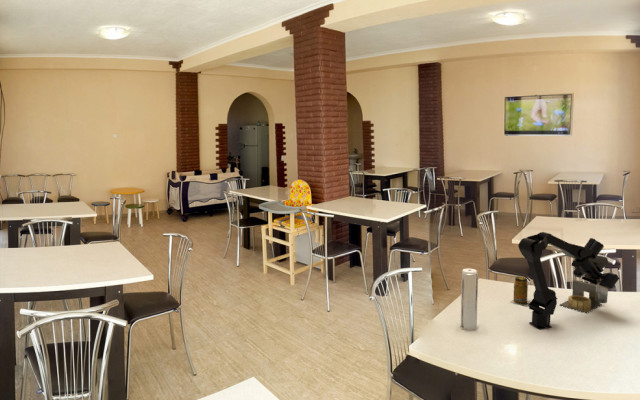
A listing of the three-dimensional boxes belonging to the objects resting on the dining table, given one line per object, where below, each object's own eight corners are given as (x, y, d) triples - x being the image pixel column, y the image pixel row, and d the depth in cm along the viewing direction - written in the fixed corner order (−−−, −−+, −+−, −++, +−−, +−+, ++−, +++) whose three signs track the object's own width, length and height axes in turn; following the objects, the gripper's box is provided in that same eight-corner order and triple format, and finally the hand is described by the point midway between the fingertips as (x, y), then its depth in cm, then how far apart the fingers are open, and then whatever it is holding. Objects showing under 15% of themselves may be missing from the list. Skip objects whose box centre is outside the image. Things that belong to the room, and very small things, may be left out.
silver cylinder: (477, 330, 194) (479, 272, 190) (461, 329, 195) (462, 272, 191) (475, 324, 200) (477, 267, 196) (460, 323, 201) (461, 267, 198)
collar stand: (586, 313, 208) (587, 292, 207) (559, 305, 218) (560, 285, 217) (601, 305, 217) (602, 285, 216) (575, 298, 227) (576, 279, 225)
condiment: (517, 298, 229) (518, 274, 227) (534, 302, 222) (535, 278, 221) (509, 302, 224) (510, 278, 223) (526, 306, 218) (527, 282, 216)
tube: (601, 303, 204) (602, 278, 203) (592, 300, 209) (594, 275, 207) (609, 302, 205) (611, 277, 204) (601, 299, 210) (602, 274, 208)
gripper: (617, 256, 194) (634, 278, 199) (579, 246, 211) (596, 267, 216) (602, 277, 192) (619, 299, 197) (565, 265, 210) (582, 285, 215)
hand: (604, 286), depth 207 cm, fingers closed on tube, 5 cm apart
